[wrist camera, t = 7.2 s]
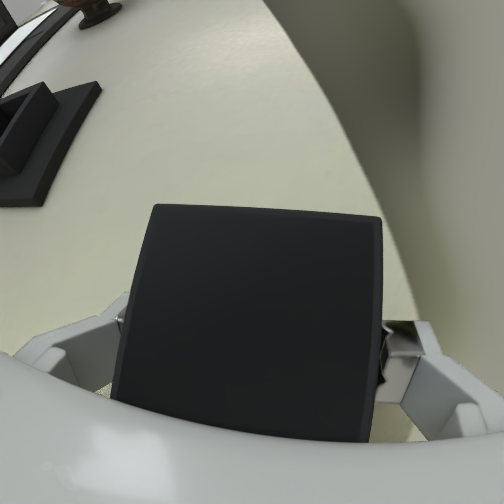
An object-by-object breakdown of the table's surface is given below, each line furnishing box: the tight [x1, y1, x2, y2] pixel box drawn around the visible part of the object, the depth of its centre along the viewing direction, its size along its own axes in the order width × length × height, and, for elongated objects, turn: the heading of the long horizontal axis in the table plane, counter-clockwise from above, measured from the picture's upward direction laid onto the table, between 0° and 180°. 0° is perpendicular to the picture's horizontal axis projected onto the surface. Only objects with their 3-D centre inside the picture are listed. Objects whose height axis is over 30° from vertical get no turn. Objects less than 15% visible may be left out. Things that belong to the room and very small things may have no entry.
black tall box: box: [110, 204, 383, 443], centre depth 9 cm, size 4×4×9 cm
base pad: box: [0, 81, 102, 207], centre depth 20 cm, size 14×12×4 cm
